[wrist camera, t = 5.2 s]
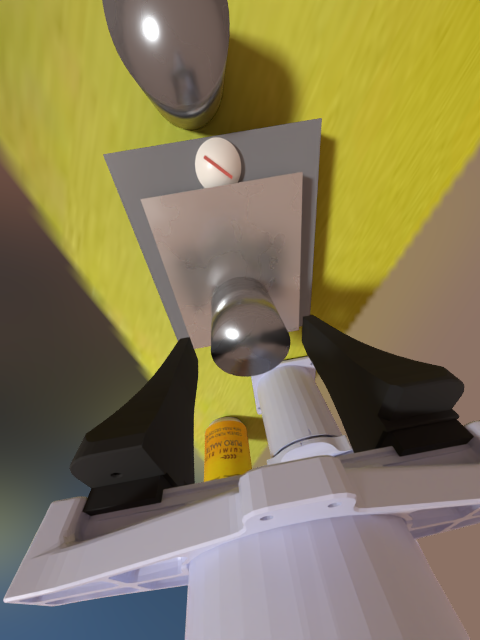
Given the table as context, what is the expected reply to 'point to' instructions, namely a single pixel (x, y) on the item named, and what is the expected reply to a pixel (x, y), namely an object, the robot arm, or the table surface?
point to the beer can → (226, 449)
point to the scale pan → (230, 244)
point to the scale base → (214, 170)
